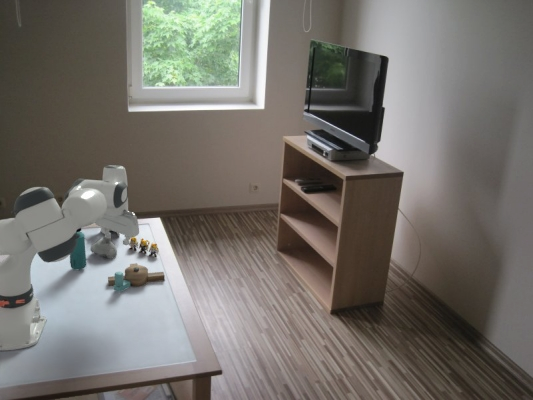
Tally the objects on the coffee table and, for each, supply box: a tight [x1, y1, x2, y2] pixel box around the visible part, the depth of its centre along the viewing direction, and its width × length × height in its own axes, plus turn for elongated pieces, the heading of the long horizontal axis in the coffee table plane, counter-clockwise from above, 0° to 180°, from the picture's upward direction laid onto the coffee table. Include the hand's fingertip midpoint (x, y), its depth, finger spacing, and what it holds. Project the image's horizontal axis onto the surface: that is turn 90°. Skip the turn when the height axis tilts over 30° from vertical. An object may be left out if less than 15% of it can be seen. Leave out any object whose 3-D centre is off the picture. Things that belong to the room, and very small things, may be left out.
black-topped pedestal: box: [100, 226, 121, 238], centre depth 270 cm, size 28×26×13 cm
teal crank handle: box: [113, 271, 131, 293], centre depth 225 cm, size 6×3×7 cm, turn 148°
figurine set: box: [128, 236, 160, 259], centre depth 256 cm, size 3×16×7 cm, turn 63°
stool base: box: [107, 262, 165, 288], centre depth 234 cm, size 16×22×6 cm
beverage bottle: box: [69, 228, 87, 271], centre depth 235 cm, size 6×7×20 cm
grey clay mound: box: [90, 236, 118, 259], centre depth 251 cm, size 12×12×11 cm
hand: (117, 241), depth 217 cm, fingers open, 8 cm apart
